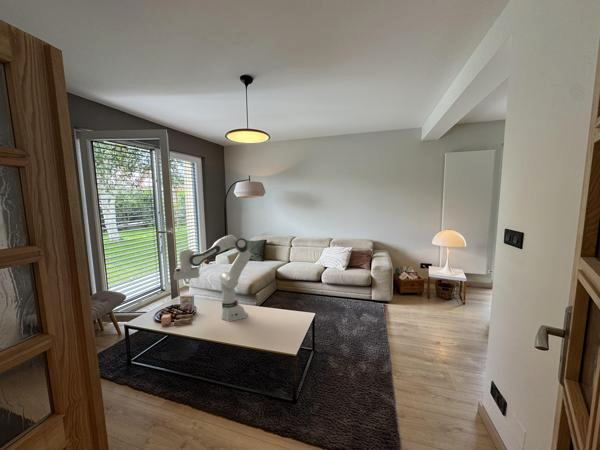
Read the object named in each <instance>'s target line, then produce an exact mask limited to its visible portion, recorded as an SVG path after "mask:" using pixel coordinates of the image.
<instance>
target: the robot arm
mask: <svg viewBox="0 0 600 450" xmlns="http://www.w3.org/2000/svg"><path fill="white" fill-rule="evenodd" d="M248 246H249V245H248V241H247V240H246V239H245V238H244V237H243V238H241V237H240V238H238V239H237V237H236V236H235V235H234V234H228V235H225V236H223V237H221V238H219V239H217V240H216V241H215V242H214V243H213V245H211V247H210V248H209V249H206V250H204V251H203V252H200V251H194V250H191V249H190V248H185V249H182V250H180V251H179V262H180V265H179V266H177V267H176V268H175V269H174V273H173V280H174V281H179V280H183V281H184V282H185V283H184V284H185V285H188V284H190V281H191V279H198V278H199V277H200V267H199V266H201V264H202V263H203V262H205V261H206V260H207V259H209V258H211V257H213V256H214V255H216V254H220V253H221V252H224V251H226V250H228V249H230V248H232V247H234V249H236V251H238V255H237V256H236V258H235V259H234V260H233V262H232V263H231V265H230V268H229V271H224V272H221V273H220V275H219V281H220V288H221V295H222V298H221V299H222V302H221V308H222V310H221V316H220V318H221V319H222V320H223V321H227V322H233V321H239V320H243V319H246V318H248V317H247V316H248V313H247V311H246V310H245V309H244V307H243V306H242V305H241V304H239V301H238V299H236V290H235V288H236V287H237V286H238V285H239V279H240V278H241V277H240V276H241V275H242V273H243V271H244V268H245V267H246V266H247V264H248V262H249V261H250V259H251V256H252V254H251V252H250V251H249V250H248ZM187 279H188V280H187ZM242 318H243V319H242Z"/></svg>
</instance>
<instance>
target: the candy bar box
mask: <svg viewBox="0 0 600 450" xmlns="http://www.w3.org/2000/svg"><path fill="white" fill-rule="evenodd" d="M179 301H180V302H179V303H180V309H181V308H182V309H188V310H191V311H192V310H194V311H195V294H186V293H185V294H181V295H180V296H179Z"/></svg>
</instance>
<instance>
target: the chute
mask: <svg viewBox="0 0 600 450" xmlns="http://www.w3.org/2000/svg"><path fill="white" fill-rule="evenodd" d="M176 318H181V319H179V320H176ZM176 318H175V319H173V320H174V322H170V324H164V325H163V327H165V328H166V327H174V326H183V325H185V326H186V325H192V323H193V322H192V321H193V320H194V313H192V314H189V313H187V314H181V315H180V314H178V315H176Z"/></svg>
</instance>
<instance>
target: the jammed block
mask: <svg viewBox="0 0 600 450" xmlns="http://www.w3.org/2000/svg"><path fill="white" fill-rule="evenodd" d="M160 320H161V321H160V322H161V325H162V326H164V324H170V322H171V320H172V314H171V313H170V314H169V313H167V314H162V316H161V319H160Z"/></svg>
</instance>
